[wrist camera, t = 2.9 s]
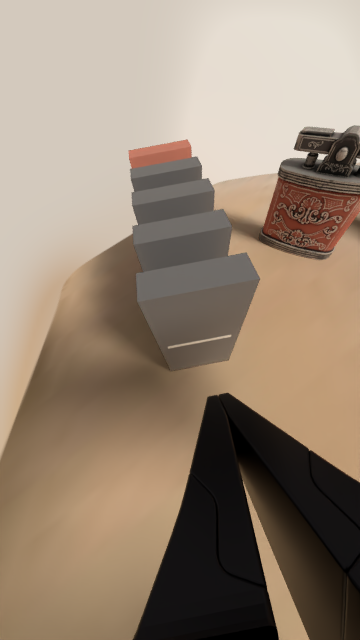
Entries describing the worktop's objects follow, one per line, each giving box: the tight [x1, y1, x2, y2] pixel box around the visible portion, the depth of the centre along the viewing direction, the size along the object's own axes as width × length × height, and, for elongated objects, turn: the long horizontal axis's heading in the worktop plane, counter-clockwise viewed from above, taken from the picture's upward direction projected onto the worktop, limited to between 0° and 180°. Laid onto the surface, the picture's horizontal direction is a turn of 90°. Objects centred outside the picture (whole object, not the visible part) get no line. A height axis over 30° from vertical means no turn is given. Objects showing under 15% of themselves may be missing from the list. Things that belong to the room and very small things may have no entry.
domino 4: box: [133, 209, 232, 272], centre depth 14 cm, size 2×5×10 cm, turn 99°
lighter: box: [259, 126, 360, 260], centre depth 18 cm, size 8×3×10 cm, turn 55°
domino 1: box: [129, 140, 192, 169], centre depth 20 cm, size 2×5×10 cm, turn 99°
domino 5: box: [136, 253, 260, 371], centre depth 12 cm, size 2×5×10 cm, turn 99°
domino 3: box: [132, 178, 215, 225], centre depth 16 cm, size 2×5×10 cm, turn 99°
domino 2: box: [130, 157, 202, 192], centre depth 18 cm, size 2×5×10 cm, turn 99°
